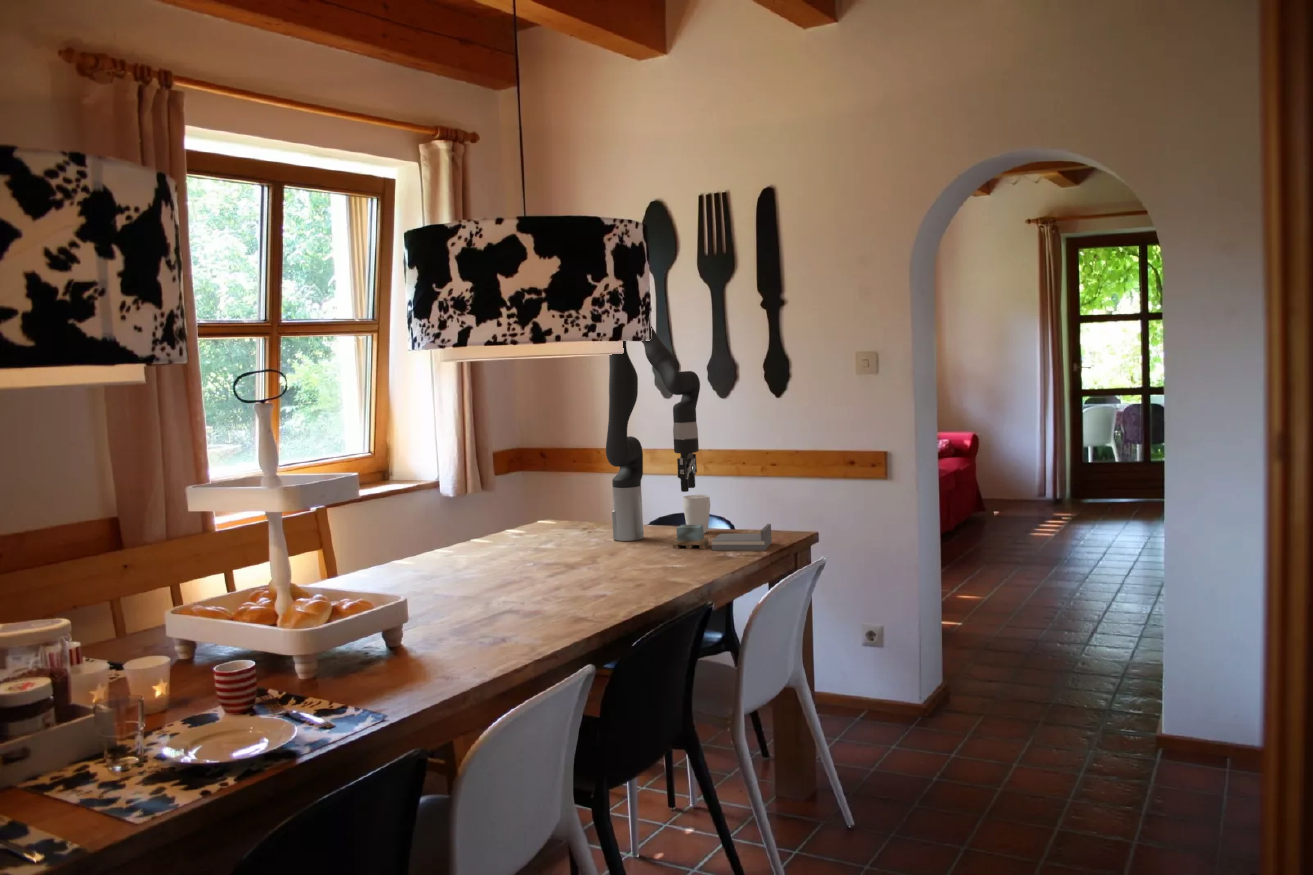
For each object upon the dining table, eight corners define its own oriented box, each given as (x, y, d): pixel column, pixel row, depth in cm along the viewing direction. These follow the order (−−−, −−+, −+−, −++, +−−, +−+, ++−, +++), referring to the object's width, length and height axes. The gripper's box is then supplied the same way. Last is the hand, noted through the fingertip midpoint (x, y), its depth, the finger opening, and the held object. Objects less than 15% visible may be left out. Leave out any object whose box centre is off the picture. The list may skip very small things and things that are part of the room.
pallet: (672, 548, 323) (671, 527, 323) (677, 545, 329) (676, 524, 328) (704, 548, 320) (703, 527, 320) (708, 545, 326) (707, 524, 325)
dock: (711, 550, 316) (711, 530, 316) (720, 543, 328) (719, 524, 328) (764, 550, 312) (763, 530, 312) (771, 543, 324) (770, 523, 323)
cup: (679, 532, 352) (677, 496, 351) (703, 529, 356) (702, 493, 355) (691, 535, 344) (690, 499, 343) (716, 532, 348) (714, 496, 347)
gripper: (679, 435, 330) (682, 486, 331) (667, 439, 316) (670, 493, 317) (703, 434, 328) (705, 486, 329) (692, 438, 314) (694, 492, 315)
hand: (688, 489), depth 323 cm, fingers open, 8 cm apart
